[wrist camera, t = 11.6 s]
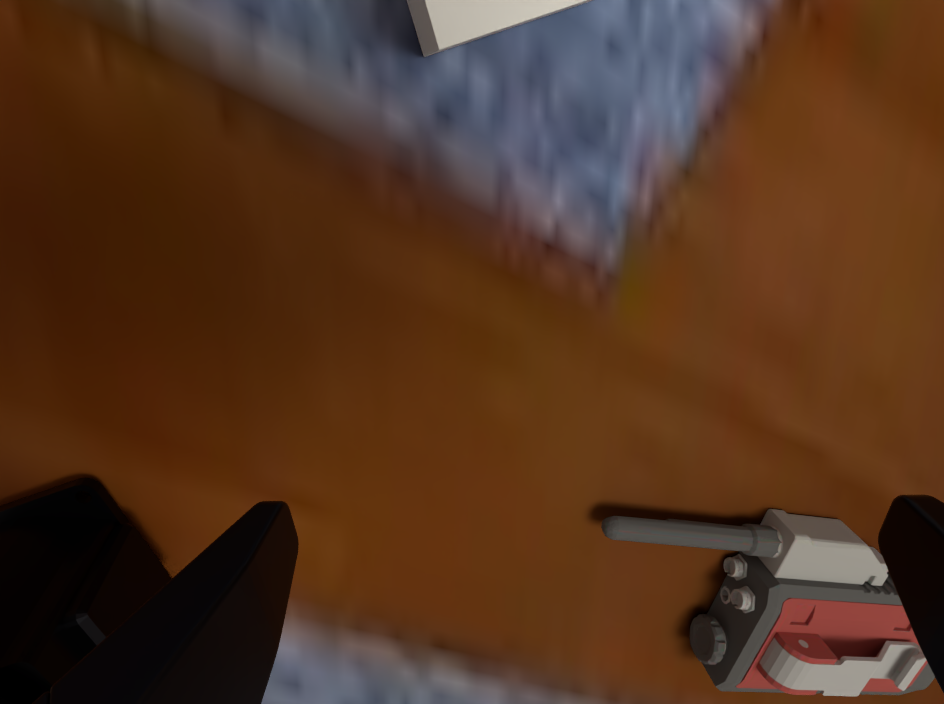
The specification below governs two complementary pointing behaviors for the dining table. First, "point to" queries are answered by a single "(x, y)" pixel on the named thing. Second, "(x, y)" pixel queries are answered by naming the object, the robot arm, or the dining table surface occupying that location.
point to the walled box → (474, 19)
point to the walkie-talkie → (795, 608)
